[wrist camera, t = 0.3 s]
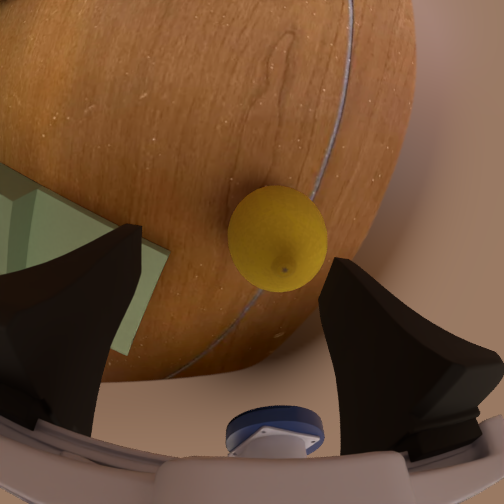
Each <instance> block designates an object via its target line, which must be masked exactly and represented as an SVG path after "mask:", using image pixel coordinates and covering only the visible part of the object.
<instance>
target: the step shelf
mask: <svg viewBox="0 0 504 504" xmlns="http://www.w3.org/2000/svg"><path fill="white" fill-rule="evenodd" d="M118 227H120V226H118V225H116V224H114V223H112V222H110V221H108V220H106V219H104V218H102V217H100V216H98V215H96V214H94V213H92V212H91V211H89V210H87V209H85V208H83V207H81V206H79V205H77V204H75V203H73V202H71V201H70V200H68V199H66V198H64V197H62V196H60V195H58V194H56V193H55V192H53V191H51V190H49V189H47V188H45V187H43V186H42V185H40V184H38V183H36V182H34V181H32V180H31V179H29V178H27V177H25V176H23V175H22V174H20V173H18V172H16V171H14V170H13V169H11V168H9V167H7V166H6V165H4V164H2V163H0V275H2V274H7V273H11V272H15V271H19V270H22V269H26V268H29V267H32V266H35V265H39V264H42V263H45V262H47V261H50V260H52V259H55V258H58V257H60V256H62V255H65V254H67V253H69V252H71V251H73V250H75V249H77V248H79V247H81V246H83V245H85V244H87V243H89V242H91V241H93V240H95V239H97V238H99V237H101V236H102V235H104V234H106V233H108V232H110V231H112V230H114V229H116V228H118ZM169 254H170V251H168V250H166V249H164V248H162V247H160V246H158V245H156V244H154V243H152V242H150V241H148V240H146V239H144V238H142V273H141V276H140V279H139V282H138V286H137V288H136V291H135V294H134V297H133V299H132V301H131V303H130V305H129V307H128V309H127V311H126V313H125V316H124V318H123V320H122V322H121V324H120V326H119V328H118V331H117V333H116V335H115V337H114V340H113V342H112V345H111V347H110V348H111V349H113V350H116V351H118V352H120V353H122V354H124V355H126V356H127V355H128V353H129V350H130V347H131V345H132V342H133V340H134V337H135V334H136V332H137V329H138V327H139V324H140V322H141V319H142V317H143V314H144V312H145V310H146V307H147V305H148V302H149V300H150V298H151V295H152V293H153V291H154V288H155V286H156V284H157V281H158V279H159V277H160V274H161V272H162V270H163V268H164V265H165V263H166V261H167V259H168V256H169Z"/></svg>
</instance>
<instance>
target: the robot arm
mask: <svg viewBox="0 0 504 504" xmlns="http://www.w3.org/2000/svg"><path fill="white" fill-rule="evenodd" d="M141 273H142V226H139V225H132V224H124V225H122V226H120V227H118V228H116V229H114V230H112V231H110V232H108V233H106V234H104V235H102V236H101V237H99V238H97V239H95V240H93V241H91V242H89V243H87V244H85V245H83V246H81V247H79V248H77V249H75V250H73V251H71V252H69V253H67V254H65V255H62V256H60V257H58V258H55V259H52V260H50V261H47V262H45V263H42V264H39V265H35V266H32V267H29V268H26V269H22V270H19V271H15V272H11V273H7V274H2V275H0V488H2V489H4V490H5V491H7V492H9V493H10V494H12V495H14V496H16V497H18V498H20V499H21V500H23V501H25V502H27V503H29V504H459V503H461V502H463V501H465V500H467V499H469V498H471V497H473V496H475V495H477V494H478V493H480V492H482V491H484V490H485V489H487V488H489V487H490V486H492V485H493V484H495V483H497V482H498V481H500V480H501V479H503V478H504V419H503V417H502V415H497V416H494V417H492V418H489V419H486V420H484V421H482V422H481V423H480V424H478V422H477V420H476V417H478V416H479V415H480V411H479V409H478V407H477V406H478V405H479V404H480V403H481V402H482V401H483V400H484V399H485V398H486V397H487V396H488V395H489V394H490V392H492V390H494V388H495V387H496V386H497V385H498V384H499V382H500V381H501V379H502V377H503V375H504V363H503V361H502V360H501V358H500V356H499V355H498V354H497V353H496V352H494V351H492V350H489V349H486V348H483V347H481V346H478V345H476V344H473V343H470V342H468V341H466V340H464V339H462V338H459V337H457V336H455V335H453V334H451V333H449V332H448V331H445V330H444V329H442V328H440V327H438V326H437V325H435V324H433V323H432V322H430V321H429V320H427V319H425V318H424V317H422V316H421V315H419V314H418V313H416V312H415V311H414V310H412V309H411V308H409V307H408V306H407V305H405V304H404V303H403V302H401V301H400V300H399V299H398V298H396V297H395V296H394V295H393V294H391V293H390V292H389V291H388V290H387V289H385V288H384V287H383V286H382V285H381V284H379V283H378V282H377V281H376V280H375V279H374V278H372V277H371V276H370V275H369V274H368V273H367V272H365V271H364V270H363V269H361V268H360V267H359V266H358V265H356V264H355V263H354V262H352V261H351V260H349V259H343V258H337V257H334V260H333V263H332V265H331V268H330V271H329V273H328V276H327V278H326V281H325V284H324V286H323V289H322V291H321V294H320V296H319V299H318V302H319V311H320V317H321V323H322V327H323V330H324V334H325V338H326V341H327V345H328V349H329V352H330V356H331V360H332V363H333V367H334V372H335V376H336V383H337V391H338V400H339V412H340V431H341V451H340V452H341V453H340V456H332V457H317V458H307V454H306V449H307V448H309V447H310V446H312V445H313V444H314V443H316V442H317V441H319V440H320V437H319V436H316V435H310V434H305V433H299V432H294V431H289V430H285V429H280V428H276V427H271V426H262V427H261V428H260V429H259V430H257V431H256V432H255V433H254V434H253V435H251V436H250V437H249V438H248V439H246V440H245V441H244V442H243V443H241V444H240V445H239V446H238V447H236V448H235V449H234V450H232V451H231V452H230V453H229V454H228V457H209V456H191V457H184V458H178V457H171V456H166V455H160V454H154V453H150V452H145V451H140V450H136V449H131V448H127V447H123V446H119V445H115V444H112V443H108V442H104V441H101V440H97V439H94V438H91V432H92V425H93V418H94V412H95V407H96V401H97V396H98V391H99V387H100V383H101V379H102V375H103V371H104V367H105V364H106V360H107V357H108V354H109V350H110V347H111V345H112V342H113V340H114V337H115V335H116V333H117V331H118V328H119V326H120V324H121V322H122V320H123V318H124V316H125V313H126V311H127V309H128V307H129V305H130V303H131V301H132V299H133V297H134V294H135V291H136V288H137V286H138V282H139V279H140V276H141Z"/></svg>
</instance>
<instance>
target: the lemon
mask: <svg viewBox="0 0 504 504" xmlns="http://www.w3.org/2000/svg"><path fill="white" fill-rule="evenodd" d="M228 248H229V251H230V254H231V257H232V260H233V263H234V264H235V266H236V267H237V269H238V271H239V272H240V274H241V275H242V276H243V277H244V278H245V279H246V280H248V281H249V282H250V283H251V284H253V285H254V286H256V287H258V288H260V289H263V290H267V291H271V292H286V291H292V290H294V289H297V288H299V287H302V286H303V285H305V284H306V283H308V282H309V281H310V280H311V279H312V278H313V277H314V276H315V275H316V274H317V273H318V271H319V270H320V268H321V266H322V264H323V262H324V259H325V255H326V252H327V230H326V227H325V223H324V220H323V217H322V215H321V213H320V212H319V210H318V208H317V207H316V205H315V204H314V203H313V202H312V201H311V200H310V199H309V198H308V197H307V196H305V195H304V194H303V193H301V192H299V191H297V190H295V189H293V188H290V187H285V186H280V185H278V186H266V187H263V188H260V189H257V190H255V191H253V192H252V193H250V194H248V195H247V196H246V197H245V198H244V199H243V200H242V201H241V202H240V203H239V204H238V205H237V207H236V209H235V210H234V212H233V214H232V216H231V219H230V223H229V227H228Z"/></svg>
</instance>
